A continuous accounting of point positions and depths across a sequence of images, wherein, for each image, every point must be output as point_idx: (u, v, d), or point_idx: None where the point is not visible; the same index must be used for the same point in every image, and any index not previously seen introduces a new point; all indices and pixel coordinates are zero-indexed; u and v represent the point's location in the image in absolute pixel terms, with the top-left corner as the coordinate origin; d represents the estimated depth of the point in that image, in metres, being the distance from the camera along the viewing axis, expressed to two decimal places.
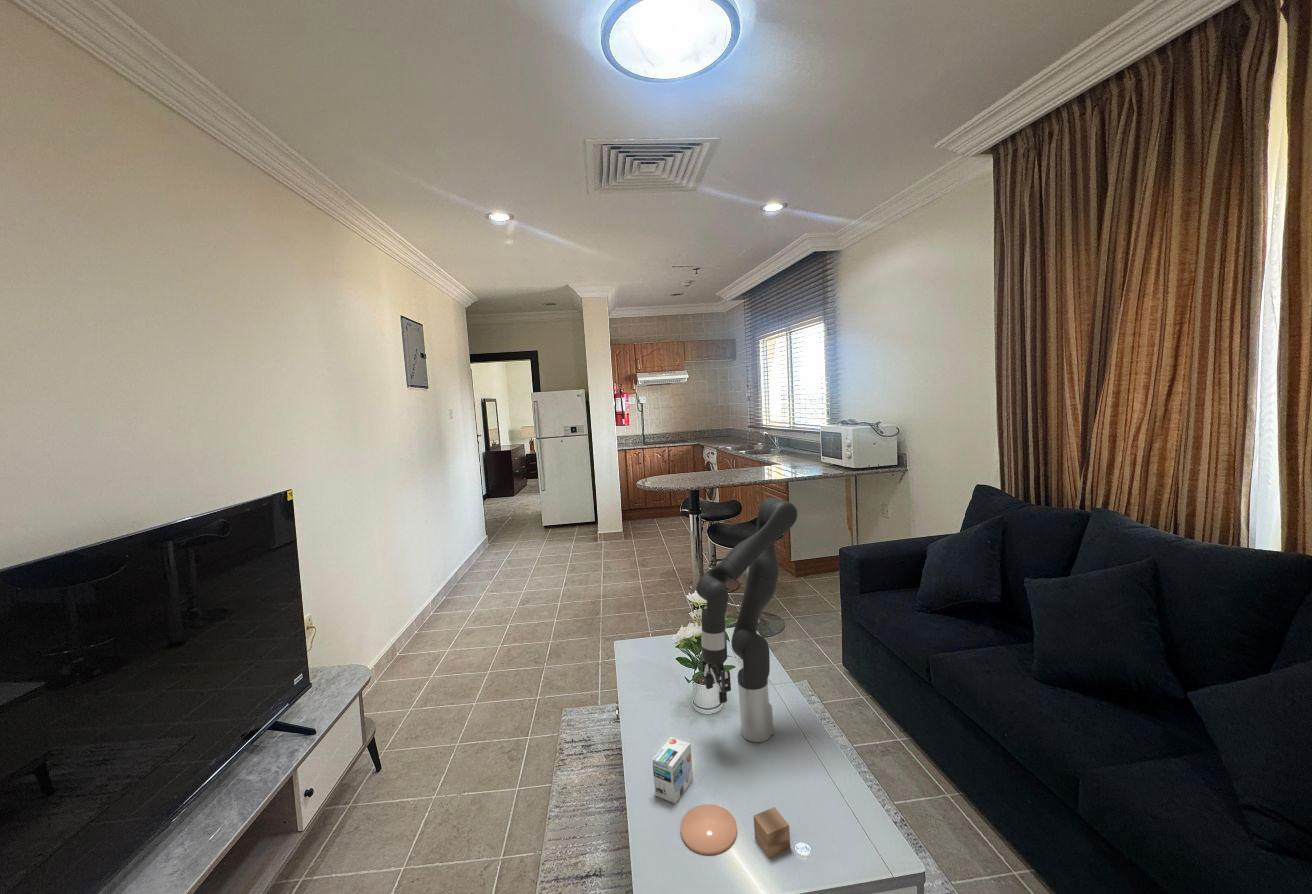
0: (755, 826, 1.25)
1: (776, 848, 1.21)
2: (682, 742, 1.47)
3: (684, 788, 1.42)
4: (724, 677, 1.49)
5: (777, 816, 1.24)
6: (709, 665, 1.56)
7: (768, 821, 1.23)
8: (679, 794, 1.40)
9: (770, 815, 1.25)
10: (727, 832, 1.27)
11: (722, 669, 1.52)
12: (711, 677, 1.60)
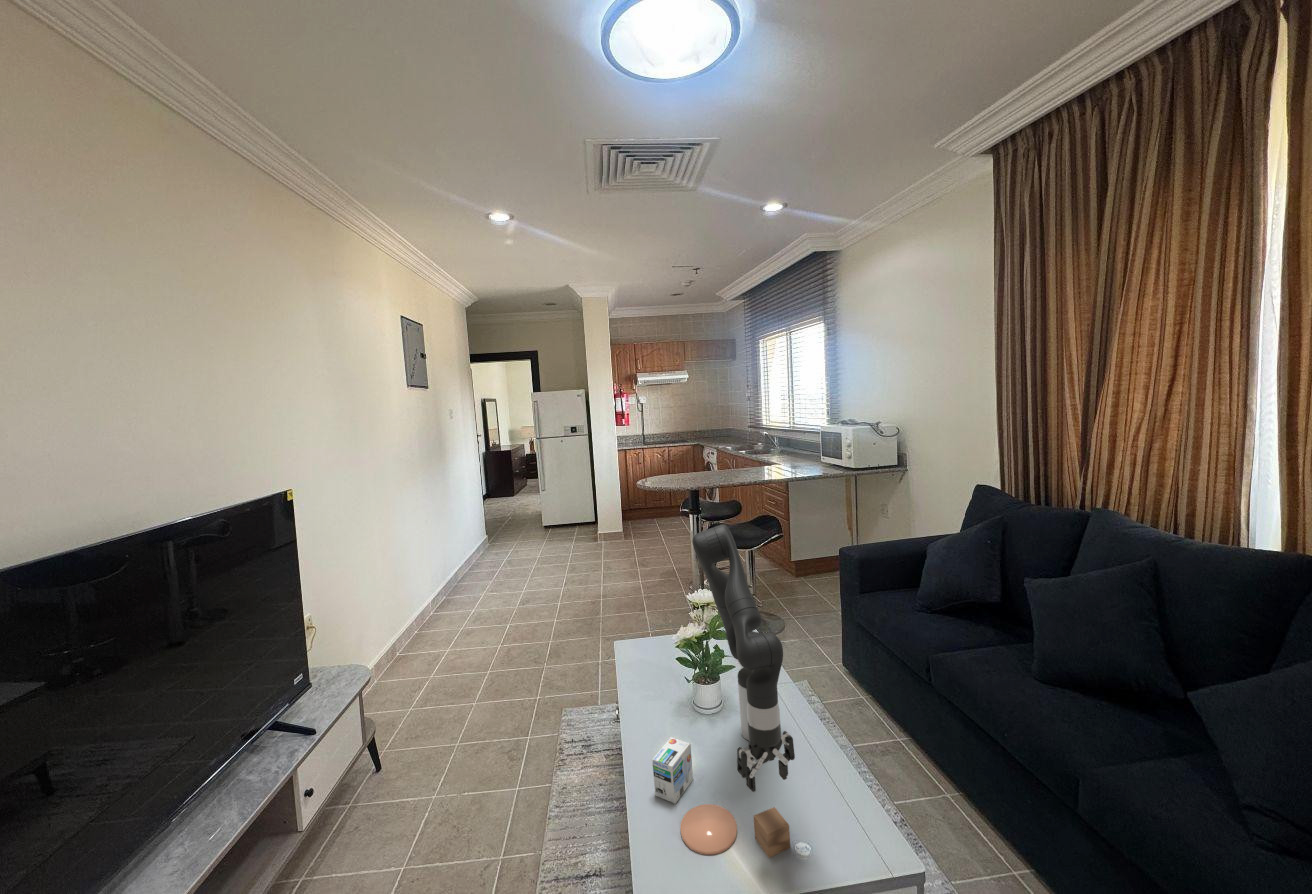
0: (755, 826, 1.25)
1: (776, 848, 1.21)
2: (682, 742, 1.47)
3: (684, 788, 1.42)
4: None
5: (777, 816, 1.24)
6: (765, 751, 1.20)
7: (768, 821, 1.23)
8: (679, 794, 1.40)
9: (770, 815, 1.25)
10: (727, 832, 1.27)
11: (781, 737, 1.23)
12: None
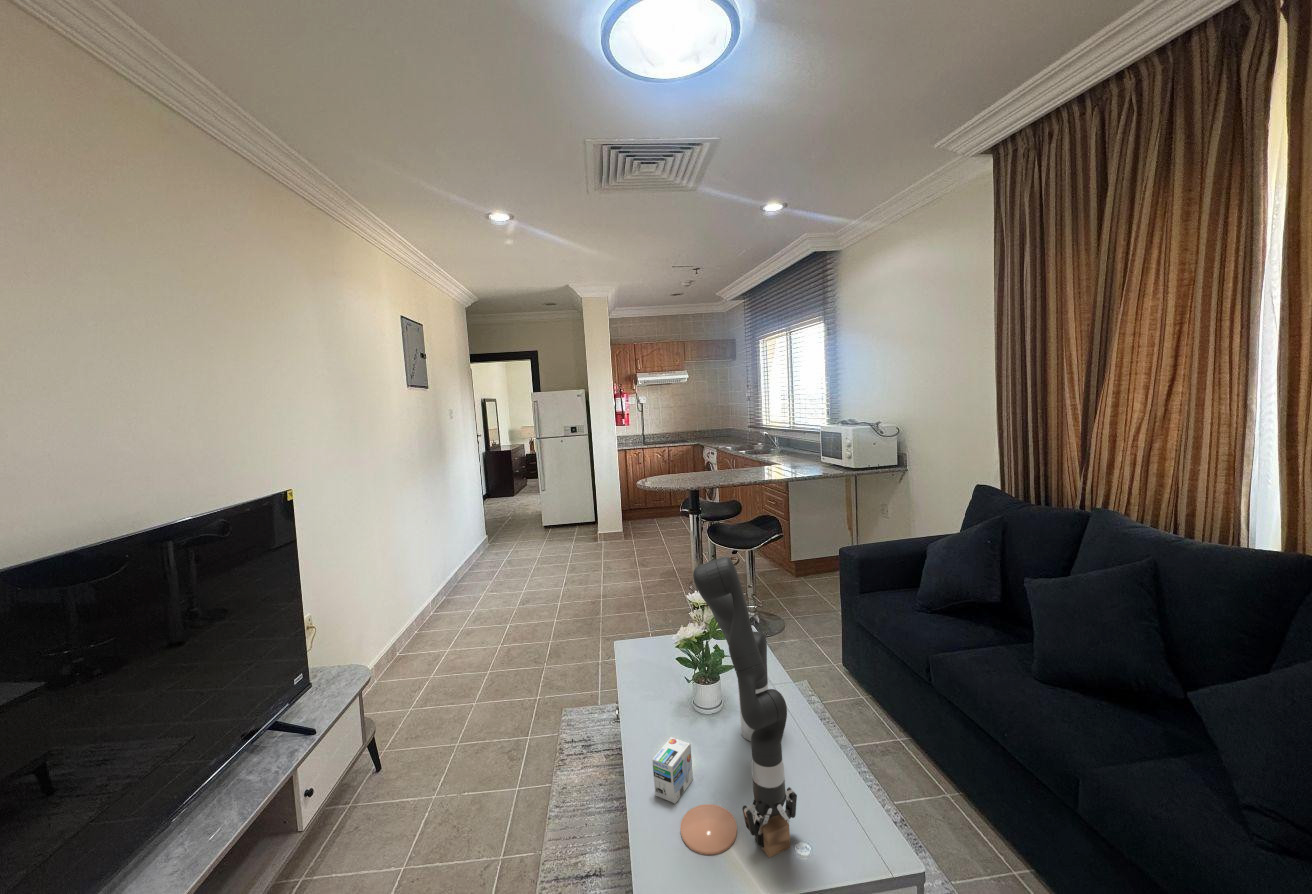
0: None
1: (776, 847, 1.21)
2: (682, 742, 1.47)
3: (684, 788, 1.42)
4: None
5: (777, 816, 1.24)
6: (770, 806, 1.21)
7: (768, 821, 1.23)
8: (679, 794, 1.40)
9: None
10: (727, 832, 1.27)
11: (785, 792, 1.25)
12: None
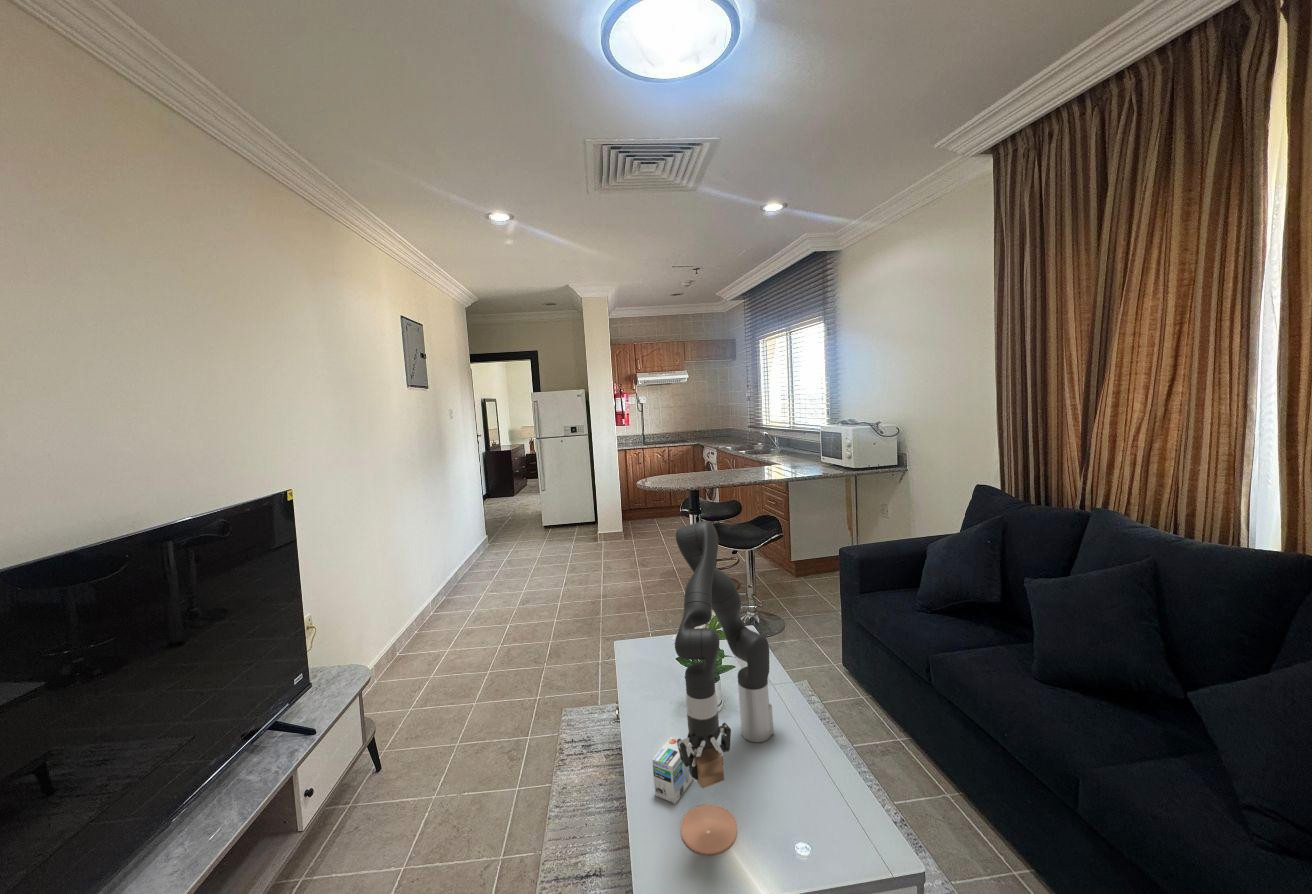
0: None
1: (709, 779, 1.24)
2: None
3: (684, 788, 1.42)
4: None
5: (712, 750, 1.28)
6: (703, 739, 1.25)
7: (703, 754, 1.27)
8: (679, 794, 1.40)
9: None
10: (727, 832, 1.27)
11: (720, 727, 1.28)
12: None
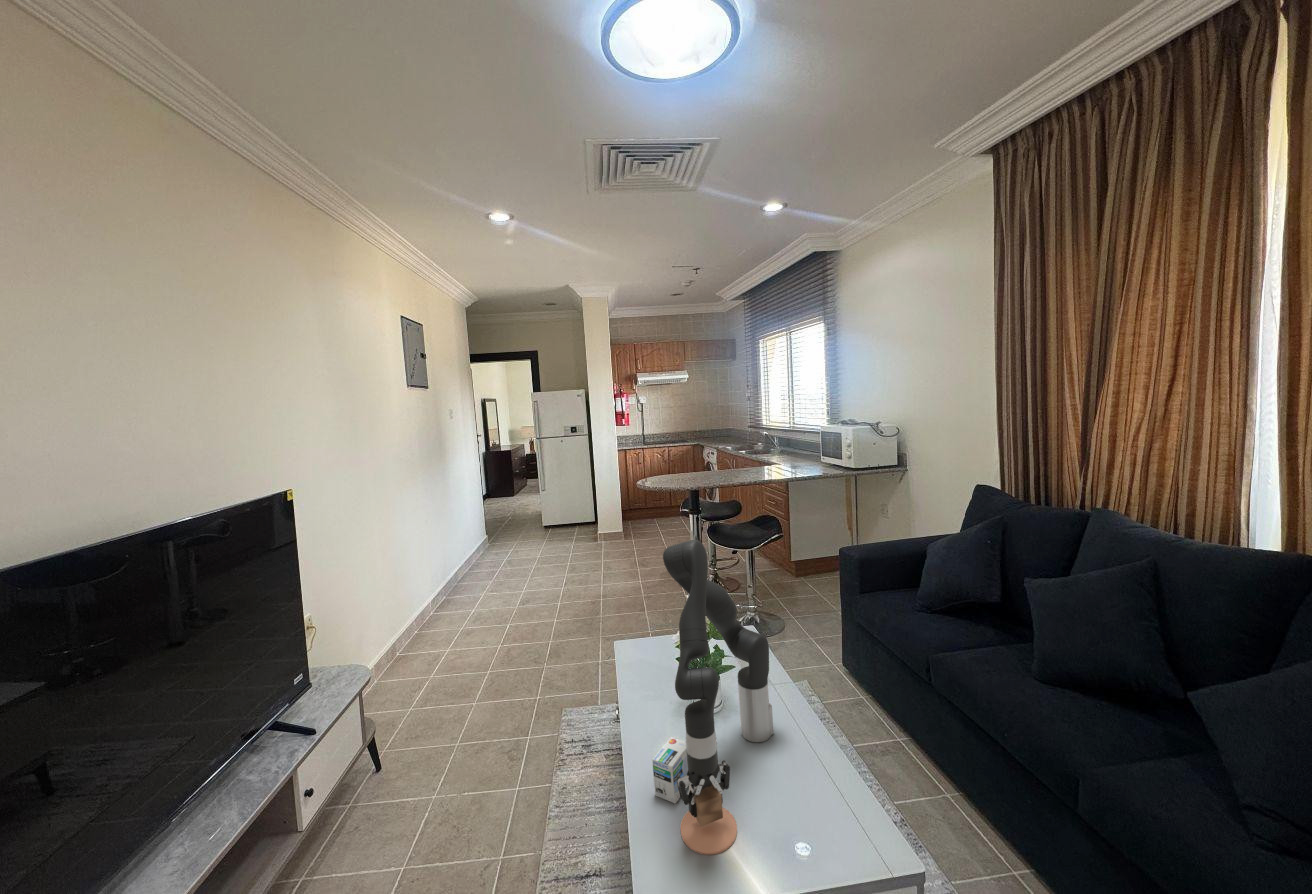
0: None
1: (708, 817, 1.26)
2: (682, 742, 1.47)
3: None
4: None
5: (711, 787, 1.29)
6: (702, 777, 1.26)
7: (702, 792, 1.28)
8: (679, 794, 1.40)
9: None
10: (727, 832, 1.27)
11: (719, 764, 1.29)
12: None
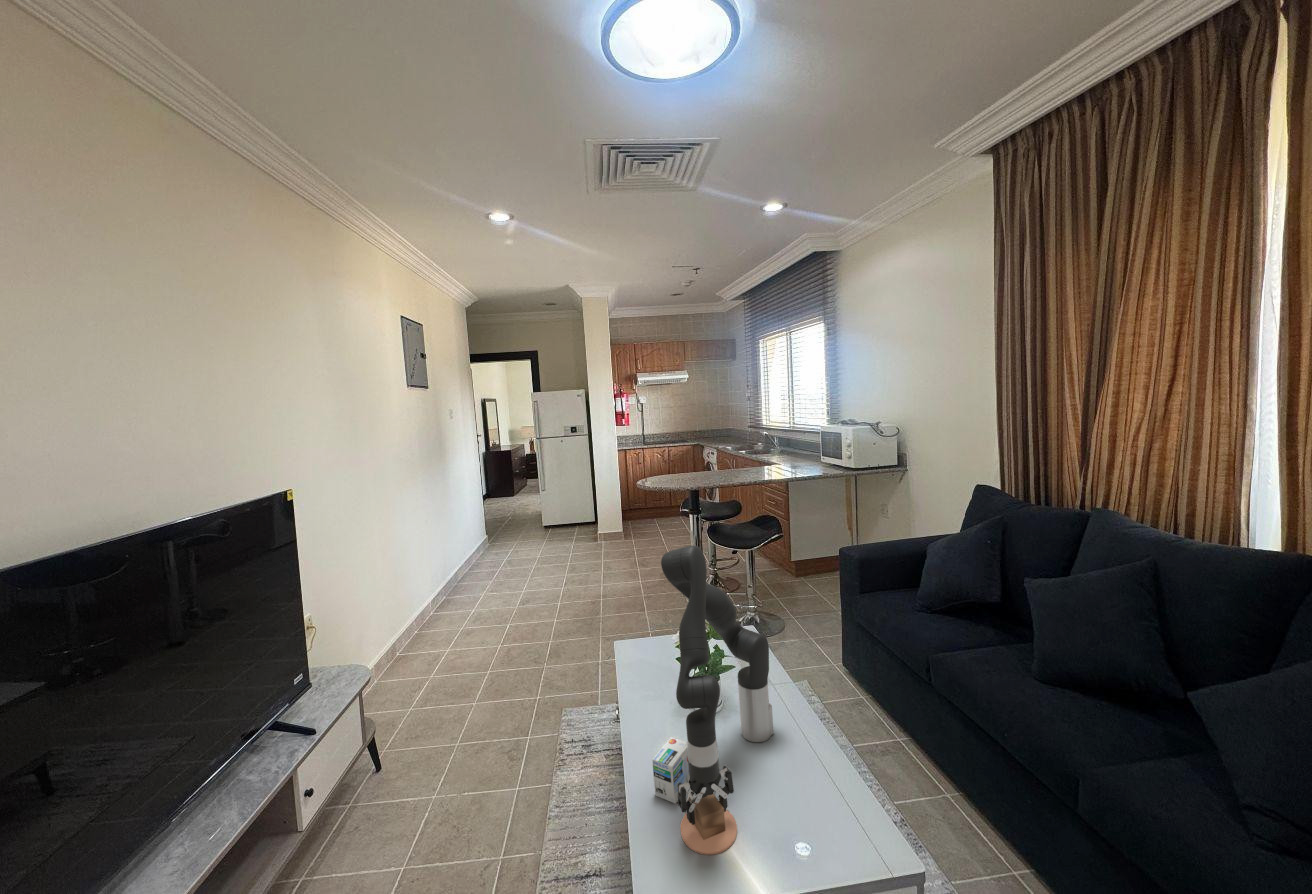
0: None
1: (711, 830, 1.26)
2: (682, 742, 1.47)
3: None
4: None
5: (714, 800, 1.29)
6: (704, 786, 1.26)
7: (705, 805, 1.28)
8: None
9: (707, 799, 1.30)
10: (727, 832, 1.27)
11: (720, 771, 1.30)
12: None
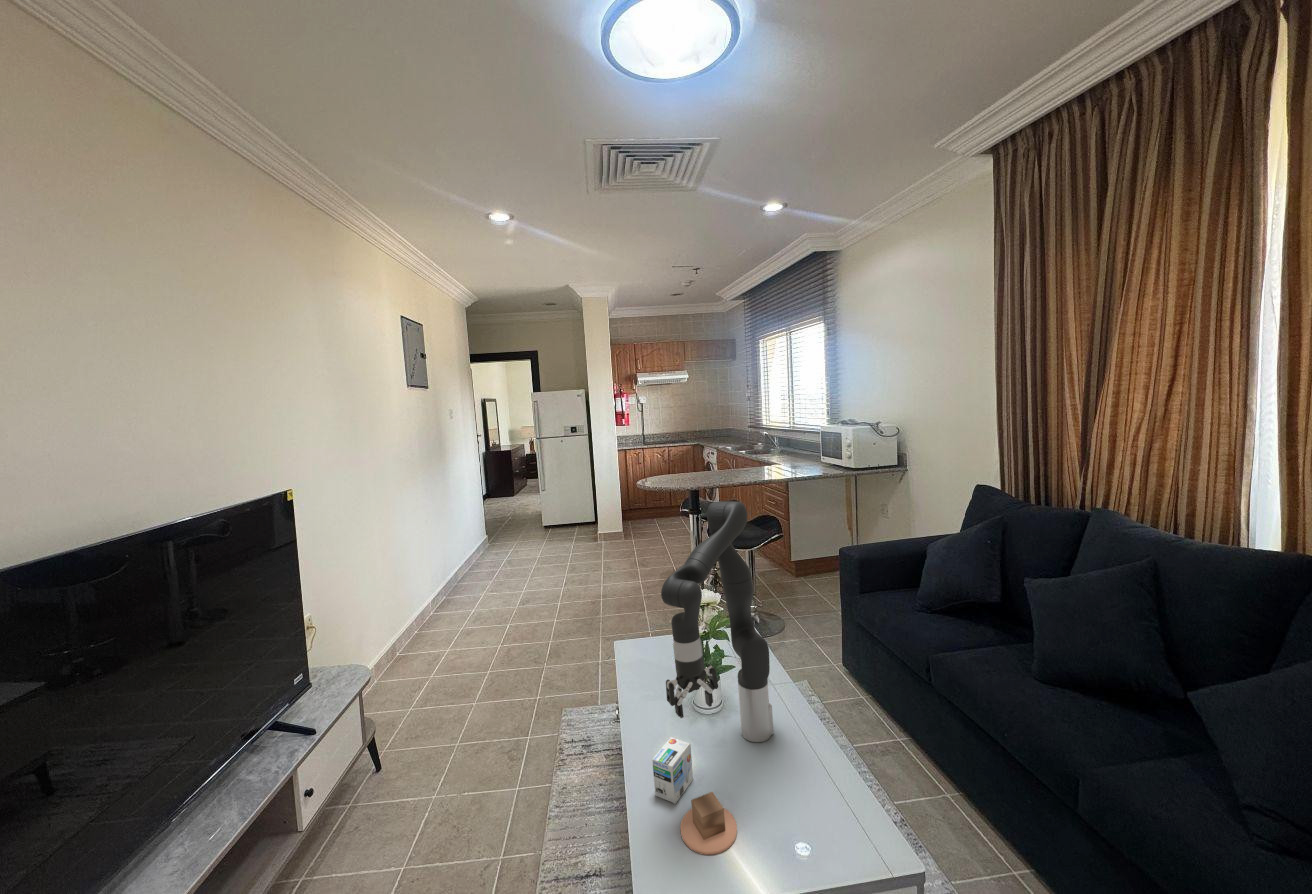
0: (692, 810, 1.30)
1: (711, 830, 1.26)
2: (682, 742, 1.47)
3: (684, 788, 1.42)
4: None
5: (714, 800, 1.29)
6: (691, 681, 1.35)
7: (704, 805, 1.28)
8: (679, 794, 1.40)
9: (707, 799, 1.30)
10: (727, 832, 1.27)
11: (705, 669, 1.39)
12: None
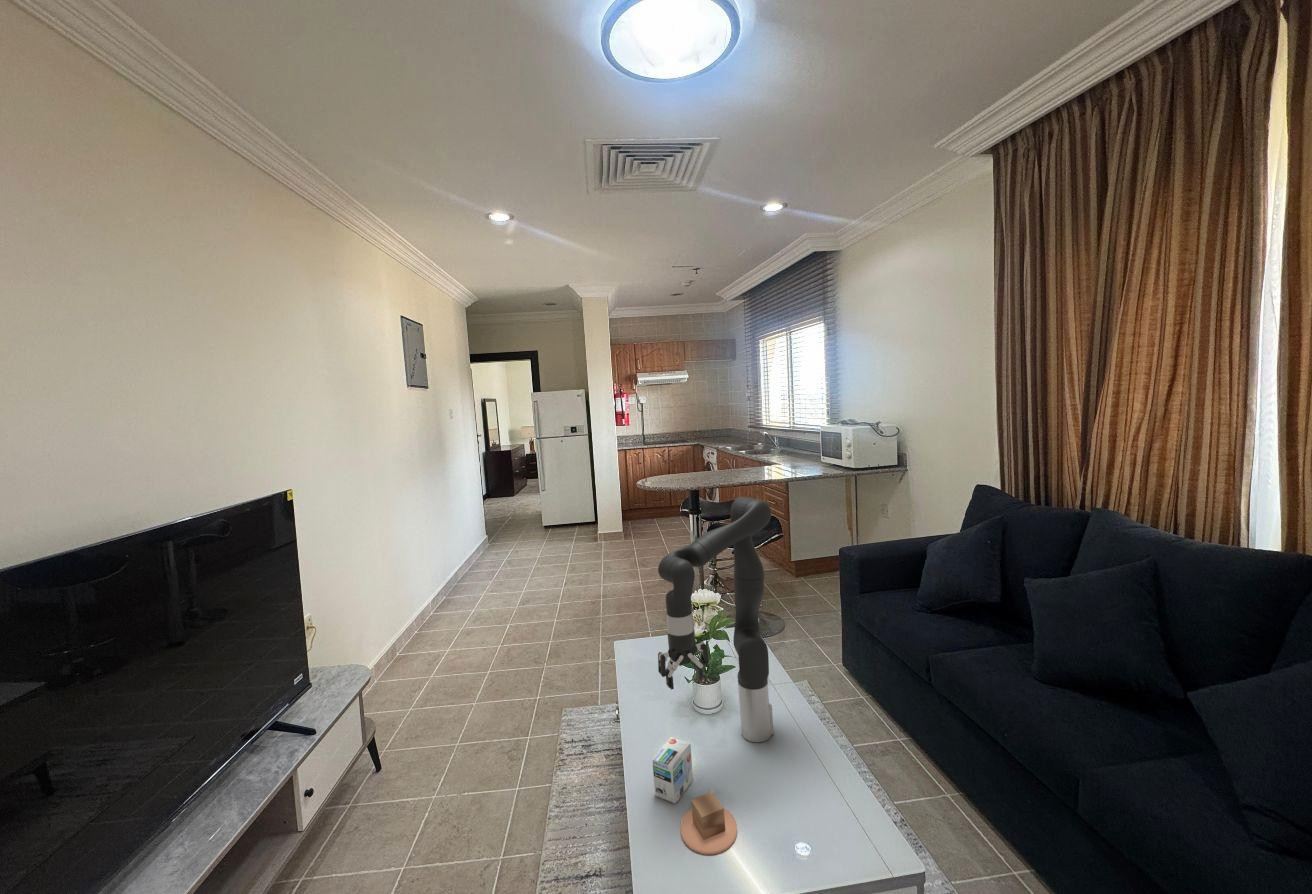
0: (692, 810, 1.30)
1: (711, 830, 1.26)
2: (682, 742, 1.47)
3: (684, 788, 1.42)
4: None
5: (714, 800, 1.29)
6: (682, 655, 1.42)
7: (704, 805, 1.28)
8: (679, 794, 1.40)
9: (707, 799, 1.30)
10: (727, 832, 1.27)
11: (696, 644, 1.45)
12: None
